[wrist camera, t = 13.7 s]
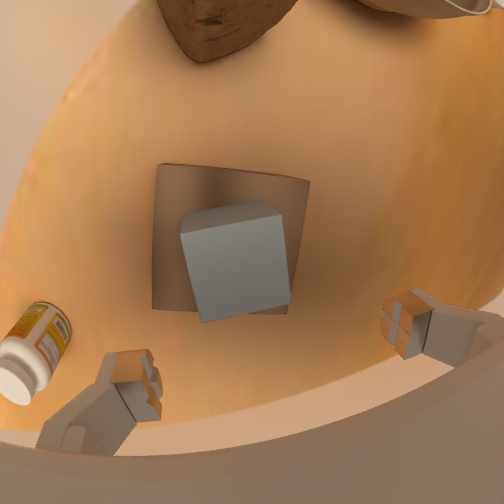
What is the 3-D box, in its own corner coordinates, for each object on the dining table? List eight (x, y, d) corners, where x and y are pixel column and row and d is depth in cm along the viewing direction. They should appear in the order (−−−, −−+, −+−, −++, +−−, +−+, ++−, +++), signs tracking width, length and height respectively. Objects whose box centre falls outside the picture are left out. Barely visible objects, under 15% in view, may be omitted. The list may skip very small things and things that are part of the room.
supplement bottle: (24, 328, 23) (-17, 386, 14) (34, 290, 22) (-16, 347, 13) (64, 355, 25) (34, 421, 16) (78, 320, 24) (42, 387, 15)
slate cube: (260, 199, 19) (281, 214, 14) (269, 270, 21) (291, 303, 16) (183, 214, 18) (179, 234, 14) (199, 284, 20) (201, 322, 16)
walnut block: (288, 176, 24) (310, 181, 19) (270, 287, 27) (286, 314, 22) (165, 163, 22) (157, 164, 17) (158, 281, 25) (152, 309, 20)
